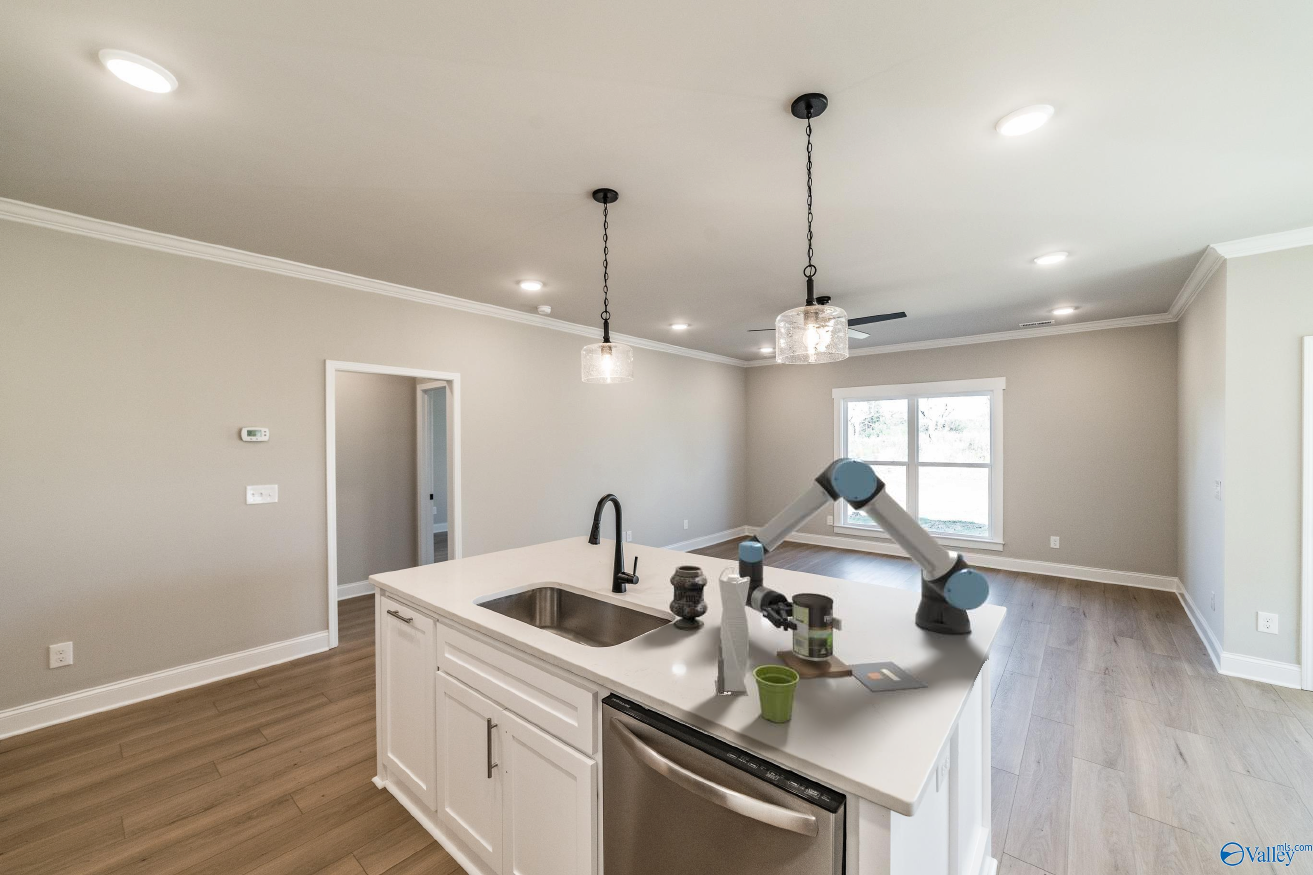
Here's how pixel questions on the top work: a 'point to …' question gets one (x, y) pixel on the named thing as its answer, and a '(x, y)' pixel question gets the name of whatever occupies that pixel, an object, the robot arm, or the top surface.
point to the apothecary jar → (688, 597)
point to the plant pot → (776, 691)
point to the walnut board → (813, 666)
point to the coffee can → (813, 626)
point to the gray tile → (884, 676)
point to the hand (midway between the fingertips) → (824, 628)
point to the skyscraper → (733, 635)
